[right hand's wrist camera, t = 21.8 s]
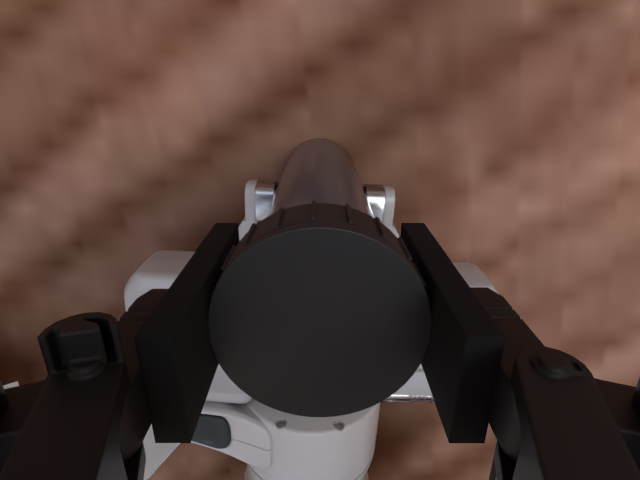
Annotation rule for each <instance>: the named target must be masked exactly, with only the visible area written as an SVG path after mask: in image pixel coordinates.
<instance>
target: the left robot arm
mask: <svg viewBox="0 0 640 480" xmlns="http://www.w3.org/2000/svg"><path fill="white" fill-rule="evenodd" d="M276 188H277V181H273V180H258V179H249V180H248V182H247V183H246V186H245V217H244V218H243V220H242V222H241V224H240V225H239V227H238V229H239V242H240V240H241V239H242V238H243V237H244V235H245V234H246V233H247V232H248V231H249V229H250V227H251V225H252V224H253V223H255V224H257V222H258V221H262V220H263V219H264V218H265V216H266V213H267V211H268V208H269V206H270V203H271V200H272V198H273V195H274V193H275V190H276ZM363 189H364V191H365V194H366V196H367V199H368V201H369V204H370V206H371V209H372V211H373V214H374V216H375V217H376V216H377V217H378V218H379V219H380V221H381V223H382V224H383V225H385V226H386V227H387V228H388V229H390V230H391V231H392V233H393V234H394V235H395V236H396V237H397V238H399V235H398V232H397V230H396V228H395V226H394V224H393V216H394V208H395V199H396V198H395V190H394V188H393V187H392V185H371V184H364V186H363ZM195 252H196V251H172V250H159V251H156V252H154V253H153V254H152V255H151V256H149V257H148V258H147V259H146V260H145V261H144V262H143V263H142V264H141V265H140V266H139V267H138V268H137V269H136V270H135V272H134V273H133V274H132V275H131V277H130V278H129V280H128V281H127V284H126V286H125V289H124V302H125V309H126V311H128V308H129V307H130V306H131V305H132V304H133V302H134V301H135V300H136V299H137V298H138V297H140V296H141V295H143V294H145V293H146V292H148V291H149V290H151V289H169V288H170V286H171V285H172V283H173V282H174V281H175V279H176V278H177V277H178V275H179V274H180V272H181V271H182V270H183V268H184V267H185V265H186V264H187V263H188V261H189V260H190V258H191V257H192V256H193V254H194V253H195ZM452 263H453V264H454V266H455V267H456V269H457V270H458V271H459V273H460V274H461V276H462V277H463V278H464V280H465V281H466V282H467V284H468V285H469V287H488V288H489V289H491V290H493V291H494V292H496V293H498V294H499V292H498V291H497V289H496V287H495V286H494V285H493V283H492V282H491V280H490V279H489V278H488V277H487V276H486V275H485V274H484V273H483V272H482V271H481V270H480V268H479V267H478V266H476V265H475V264H473V263H468V262H452ZM499 295H500V294H499ZM382 402H399V403H408V402H430V403H434V404H435V401H434V399H433V396H432V393H431V390H430V387H429V385H428V382H427V379H426V376H425V373H424V370H423V368H422V365H421V364H420V366H419V367H418V369H417V370H416V372H415V373H414V375H413V376H412V377H411V378H410V379H409V380H408V381H407V382H406V384H405V385H403V386H402V387H401V388H400V389H399V390H398V391H397V392H395V393H394V394H393V395H391V396H390V397H388V398H387V399H385V400H383V401H382ZM380 403H381V402H380ZM380 403H378V404H376V405H374V406H372V407H369V408H367V409H364V410H362V411H358V412H355V413H351V414H347V415H341V416H335V417H306V416H298V415H293V414H289V413H284V412H281V411H278V410H276V409H273V408H270V407H268V406H266V405H264V404H262V403H260V402H258V401H256V400H255V399H253V398H251V397H250V396H248V395H247V394H246V393H245V392H243V391H242V390H241V389H239V388H238V387H237V386H236V385H235V384H234V383H233V382H232V381H231V380H230V379H229V377H228V376H227V375H226V373H225V372H224V371H223V369H222V368H221V366H220V364H218V367H217V370H216V373H215V375H214V378H213V381H212V384H211V387H210V389H209V392H208V395H207V398H206V401H205V404H204V406H203V409H202V412H201V415H200V418H199V420H198V423H197V426H196V429H195V432H194V435H193V437H192V440H191V443H195V444H198V445H202V446H205V447H208V448H211V449H214V450H217V451H220V452H222V453H225V454H227V455H230V456H232V457H235V458H237V459H239V460H241V461H243V462H245V463H247V467H246V471H245V476H244V480H369V477H368V471H367V470H368V468H369V466H370V464H371V462H372V458H373V455H374V449H375V442H376V434H377V426H378V419H379V411H380Z"/></svg>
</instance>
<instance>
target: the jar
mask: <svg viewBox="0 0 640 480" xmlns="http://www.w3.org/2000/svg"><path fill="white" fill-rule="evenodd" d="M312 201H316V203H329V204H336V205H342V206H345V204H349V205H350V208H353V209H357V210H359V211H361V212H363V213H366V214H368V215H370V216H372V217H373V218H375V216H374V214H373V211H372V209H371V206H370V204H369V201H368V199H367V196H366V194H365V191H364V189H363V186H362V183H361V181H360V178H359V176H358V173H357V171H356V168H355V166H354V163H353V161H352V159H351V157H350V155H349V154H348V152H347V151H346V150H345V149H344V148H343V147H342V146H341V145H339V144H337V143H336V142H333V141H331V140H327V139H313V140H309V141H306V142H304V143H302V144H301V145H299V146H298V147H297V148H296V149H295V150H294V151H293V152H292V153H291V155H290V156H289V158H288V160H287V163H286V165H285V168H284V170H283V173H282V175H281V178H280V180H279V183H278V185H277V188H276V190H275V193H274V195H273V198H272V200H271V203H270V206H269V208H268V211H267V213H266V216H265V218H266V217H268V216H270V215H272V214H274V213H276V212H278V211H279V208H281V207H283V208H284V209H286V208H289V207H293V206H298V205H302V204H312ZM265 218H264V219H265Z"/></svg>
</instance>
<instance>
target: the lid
mask: <svg viewBox="0 0 640 480" xmlns="http://www.w3.org/2000/svg"><path fill="white" fill-rule="evenodd" d="M411 260H412V258H411V256H410V254H409V252H408V250H407V248H406V246H405V244H404V242H403V240H402V238H401V237H399V238H397V237H396V236H395V235H394V234H393V233H392V231H391V230H390V229H388V228H387V227H386V226H385V225H383V224H382V223H381V221H380V219H379V218H378V217H377V216H376V217H375V218H373V217H372V216H370V215H368V214H366V213H363V212H361V211H359V210H357V209H353V208H350V205H349V204H345V206H342V205H336V204H329V203H316V201H312V204H302V205H298V206H293V207H289V208H286V209H284V208H283V207H281V208H279V211H278V212H276V213H274V214H272V215H270V216H268V217H266V218H265V219H263V220H262V221H260V222H259V223H257V224H255V223H253V224H252V225H251V227H250V229H249V231H248V232H247V233H246V234H245V235H244V237H243V238H242V239H241V240H240V242H239V243H238V244H237V246H234V245H233V247H232V248H231V250H230V252H229V254H228V256H227V258H226V260H225V262H224V264H223V266H222V268H221V270H223V272H222V274H221V276H220V278H219V280H218V282H217V284H216V286H215V288H214V289H213V291H212V293H211V301H210V305H209V310H208V327H209V336H210V342H211V347H212V349H213V352H214V354H215V357H216V359H217V361H218V362H219V364H220V366H221V368H222V369H223V371H224V372H225V373H226V375H227V376H228V377H229V379H230V380H231V381H232V382H233V383H234V384H235V385H236V386H237V387H238V388H239V389H241V390H242V391H243V392H245V393H246V394H247V395H248V396H250V397H251V398H253V399H255V400H256V401H258V402H260V403H262V404H264V405H266V406H268V407H270V408H273V409H276V410H278V411H281V412H284V413H289V414H293V415H298V416H306V417H335V416H341V415H347V414H351V413H355V412H358V411H362V410H364V409H367V408H369V407H372V406H374V405H376V404H378V403H380V402H382V401H383V400H385V399H387V398H388V397H390V396H391V395H393V394H394V393H395V392H397V391H398V390H399V389H400V388H401V387H402V386H403V385H405V384H406V382H407V381H408V380H409V379H410V378H411V377H412V376H413V375H414V373H415V372H416V370H417V369H418V367H419V366H420V364H421V362H422V360H423V358H424V356H425V354H426V351H427V348H428V345H429V341H430V333H431V325H432V313H431V306H430V301H429V298H428V295H427V292H426V288H427V285H426V283H425V281H424V279H423V278H422V276H421V274H420V272H419V270H418V268H417V266H416V264H415V262H413V263H412V261H411Z"/></svg>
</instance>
